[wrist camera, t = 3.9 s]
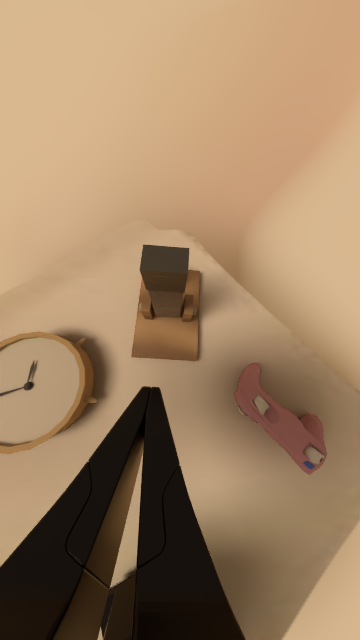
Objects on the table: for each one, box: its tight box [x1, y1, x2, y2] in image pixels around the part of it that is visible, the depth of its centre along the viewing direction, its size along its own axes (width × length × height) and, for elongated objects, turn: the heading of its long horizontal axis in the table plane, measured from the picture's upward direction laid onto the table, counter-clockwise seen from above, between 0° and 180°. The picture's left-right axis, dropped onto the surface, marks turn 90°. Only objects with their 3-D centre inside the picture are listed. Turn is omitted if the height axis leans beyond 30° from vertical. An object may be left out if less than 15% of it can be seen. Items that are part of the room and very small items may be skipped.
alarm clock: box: [0, 332, 97, 454], centre depth 18 cm, size 11×5×15 cm
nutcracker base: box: [131, 270, 200, 361], centre depth 21 cm, size 12×8×4 cm, turn 177°
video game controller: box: [234, 363, 327, 474], centre depth 18 cm, size 10×5×7 cm, turn 46°
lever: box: [140, 245, 189, 318], centre depth 17 cm, size 2×3×10 cm, turn 87°
